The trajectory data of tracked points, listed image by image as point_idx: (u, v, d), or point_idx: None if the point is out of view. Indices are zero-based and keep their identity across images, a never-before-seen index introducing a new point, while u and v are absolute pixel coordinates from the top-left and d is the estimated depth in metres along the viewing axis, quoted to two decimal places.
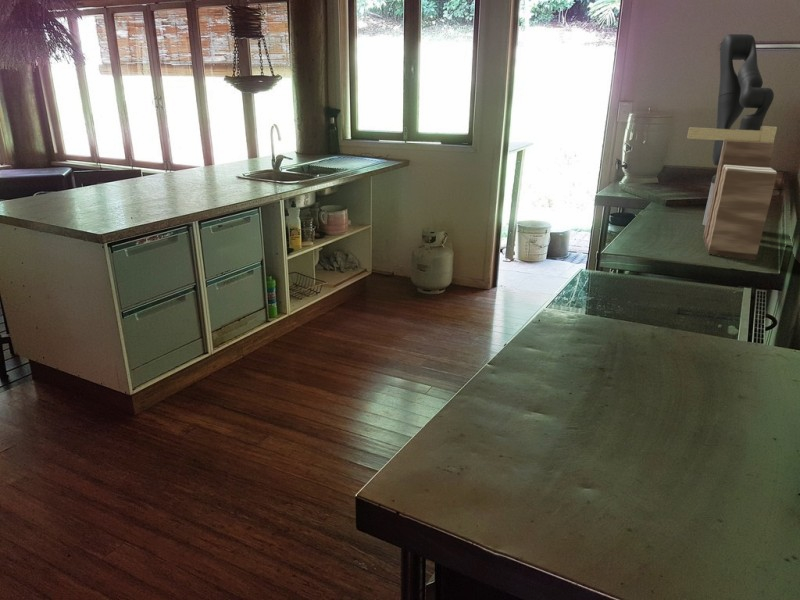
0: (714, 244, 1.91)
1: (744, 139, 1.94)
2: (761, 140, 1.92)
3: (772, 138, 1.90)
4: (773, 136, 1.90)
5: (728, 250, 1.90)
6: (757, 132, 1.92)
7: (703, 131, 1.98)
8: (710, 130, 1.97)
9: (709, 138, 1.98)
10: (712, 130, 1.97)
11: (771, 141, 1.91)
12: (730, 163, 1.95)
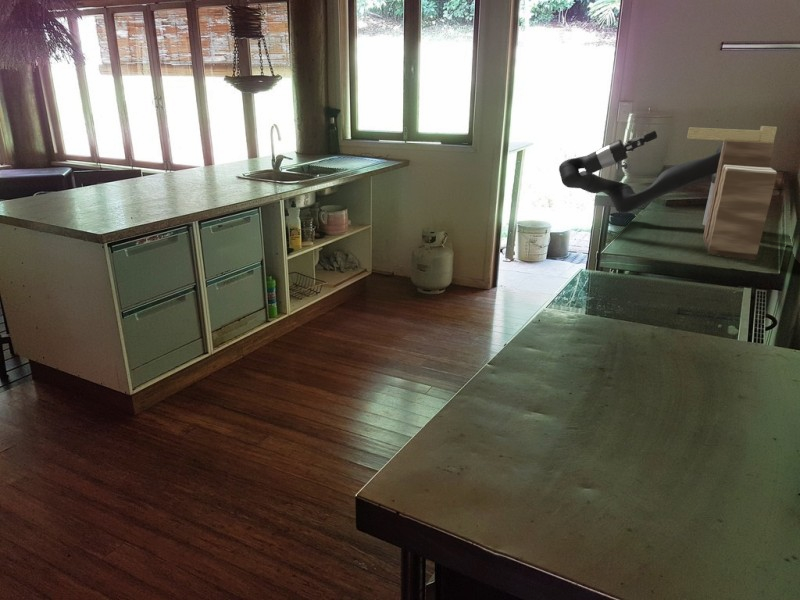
0: (714, 244, 1.91)
1: (744, 139, 1.94)
2: (761, 140, 1.92)
3: (772, 138, 1.90)
4: (773, 136, 1.90)
5: (728, 250, 1.90)
6: (757, 132, 1.92)
7: (703, 131, 1.98)
8: (710, 130, 1.97)
9: (709, 138, 1.98)
10: (712, 130, 1.97)
11: (771, 141, 1.91)
12: (730, 163, 1.95)
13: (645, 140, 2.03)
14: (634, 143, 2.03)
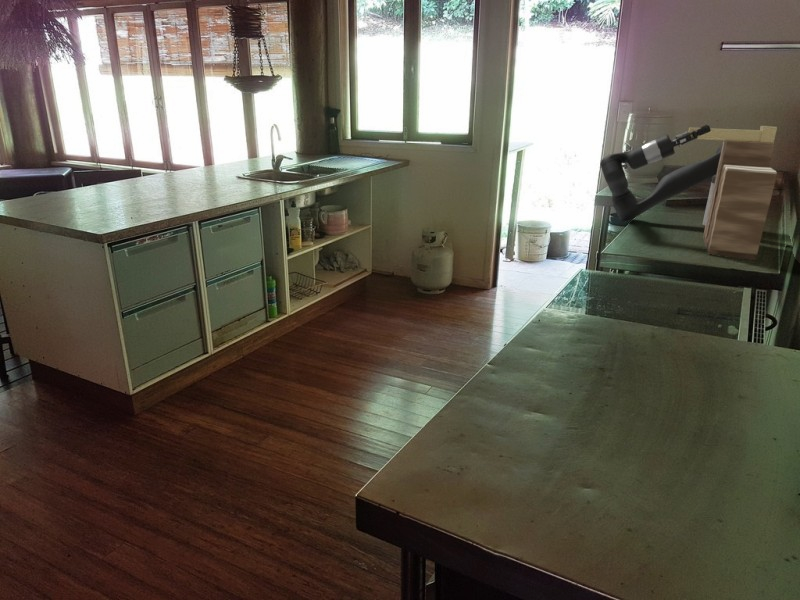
0: (714, 244, 1.91)
1: (744, 139, 1.94)
2: (761, 140, 1.92)
3: (772, 138, 1.91)
4: (773, 136, 1.90)
5: (728, 250, 1.90)
6: (757, 132, 1.92)
7: None
8: None
9: (709, 138, 1.98)
10: (712, 130, 1.97)
11: (771, 141, 1.91)
12: (730, 163, 1.95)
13: (699, 133, 1.97)
14: (688, 136, 1.96)
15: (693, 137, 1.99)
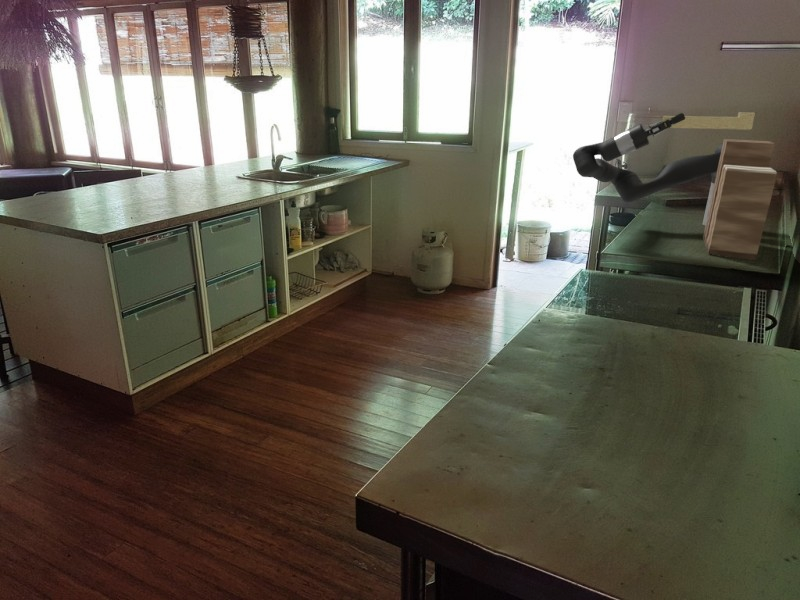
0: (714, 244, 1.91)
1: (721, 126, 1.83)
2: (739, 127, 1.81)
3: (750, 124, 1.79)
4: (751, 122, 1.79)
5: (728, 250, 1.90)
6: (734, 119, 1.81)
7: None
8: (685, 118, 1.86)
9: (684, 126, 1.87)
10: (687, 118, 1.86)
11: (749, 128, 1.80)
12: (730, 163, 1.95)
13: (673, 121, 1.87)
14: (661, 125, 1.86)
15: (667, 126, 1.88)
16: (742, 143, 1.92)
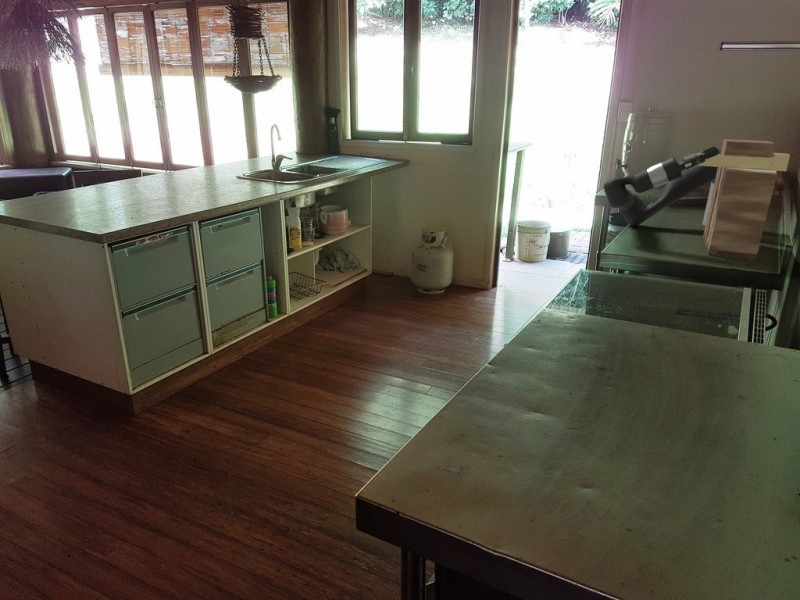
0: (714, 244, 1.91)
1: (755, 167, 1.83)
2: (773, 168, 1.81)
3: (785, 166, 1.79)
4: (786, 164, 1.79)
5: (728, 250, 1.90)
6: (769, 160, 1.81)
7: (712, 158, 1.87)
8: (718, 157, 1.86)
9: (717, 165, 1.87)
10: (721, 157, 1.86)
11: (783, 169, 1.80)
12: None
13: (706, 156, 1.85)
14: (694, 160, 1.85)
15: (700, 160, 1.87)
16: (742, 143, 1.92)
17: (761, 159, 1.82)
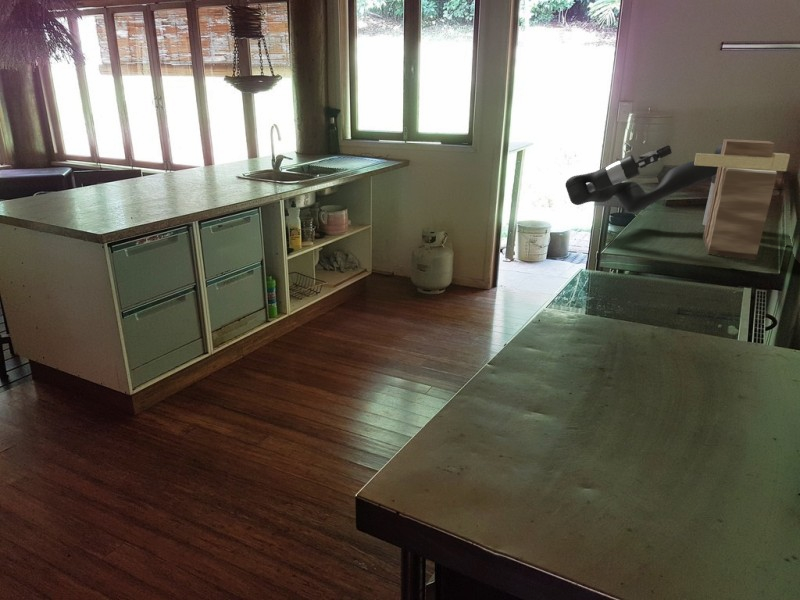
0: (714, 244, 1.91)
1: (755, 167, 1.83)
2: (773, 168, 1.81)
3: (785, 166, 1.79)
4: (786, 164, 1.79)
5: (728, 250, 1.90)
6: (769, 160, 1.81)
7: (712, 158, 1.87)
8: (718, 157, 1.86)
9: (717, 165, 1.87)
10: (721, 157, 1.86)
11: (783, 169, 1.80)
12: None
13: (659, 156, 1.89)
14: (647, 159, 1.90)
15: (654, 159, 1.91)
16: (742, 143, 1.92)
17: (761, 159, 1.82)
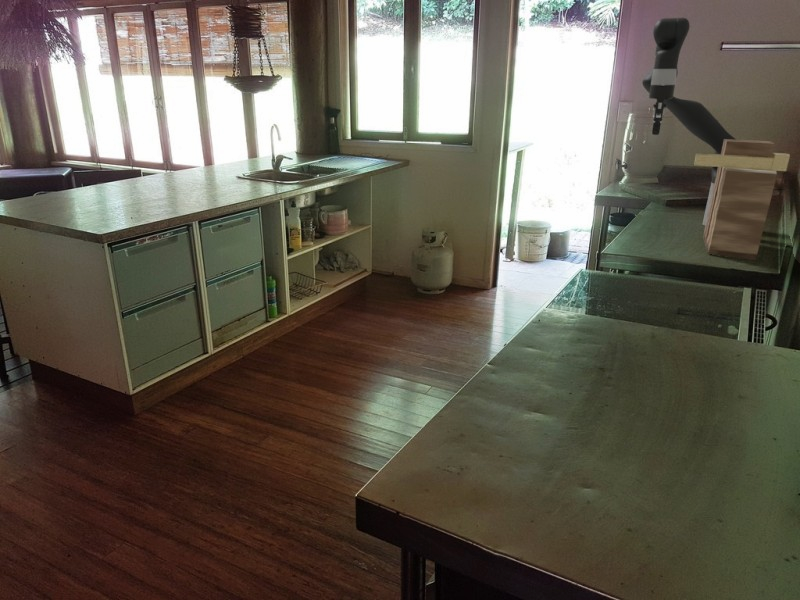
0: (714, 244, 1.91)
1: (755, 167, 1.83)
2: (773, 168, 1.81)
3: (785, 166, 1.79)
4: (786, 164, 1.79)
5: (728, 250, 1.90)
6: (769, 160, 1.81)
7: (712, 158, 1.87)
8: (718, 157, 1.86)
9: (717, 165, 1.87)
10: (721, 157, 1.86)
11: (783, 169, 1.80)
12: None
13: (656, 123, 1.92)
14: (660, 112, 1.89)
15: (655, 117, 1.93)
16: (742, 143, 1.92)
17: (761, 159, 1.82)
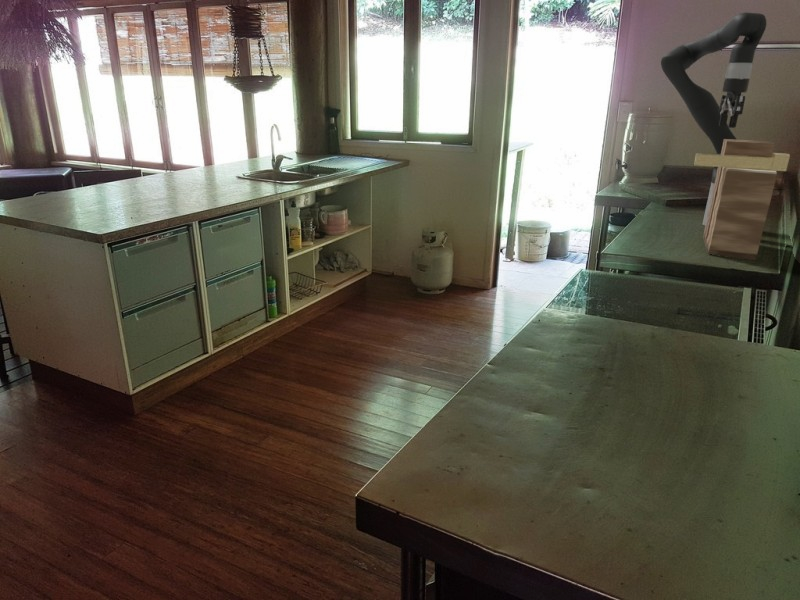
0: (714, 244, 1.91)
1: (755, 167, 1.83)
2: (773, 168, 1.81)
3: (785, 166, 1.79)
4: (786, 164, 1.79)
5: (728, 250, 1.90)
6: (769, 160, 1.81)
7: (712, 158, 1.87)
8: (718, 157, 1.86)
9: (717, 165, 1.87)
10: (721, 157, 1.86)
11: (783, 169, 1.80)
12: None
13: (735, 116, 1.95)
14: (741, 105, 1.93)
15: (733, 110, 1.96)
16: (742, 143, 1.92)
17: (761, 159, 1.82)
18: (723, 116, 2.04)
